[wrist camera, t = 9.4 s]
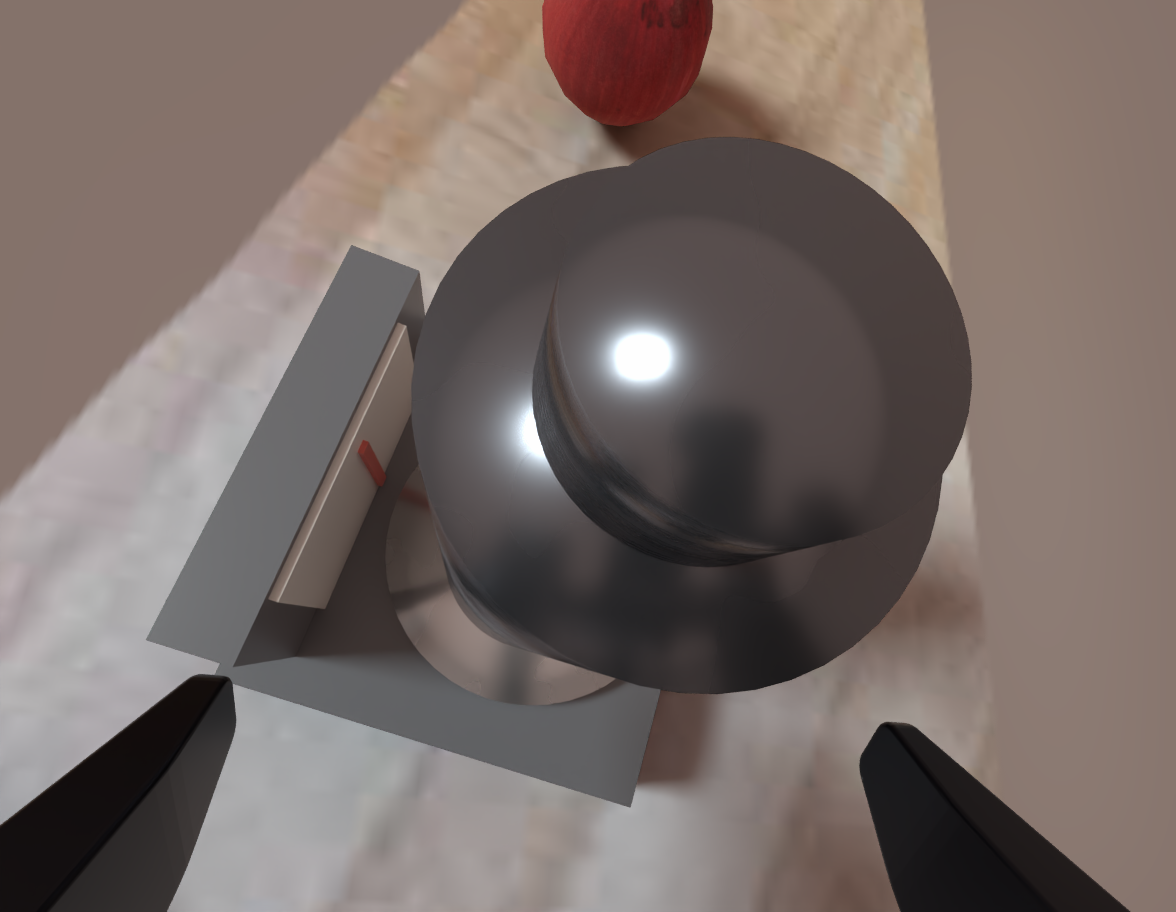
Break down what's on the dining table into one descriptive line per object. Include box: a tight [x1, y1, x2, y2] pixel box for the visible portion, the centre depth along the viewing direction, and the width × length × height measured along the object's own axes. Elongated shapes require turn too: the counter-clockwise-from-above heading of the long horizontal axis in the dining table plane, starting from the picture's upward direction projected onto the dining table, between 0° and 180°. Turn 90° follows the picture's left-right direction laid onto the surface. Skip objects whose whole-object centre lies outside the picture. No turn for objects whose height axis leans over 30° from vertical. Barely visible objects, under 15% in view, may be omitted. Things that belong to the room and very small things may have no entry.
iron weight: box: [411, 137, 972, 694], centre depth 11 cm, size 5×5×14 cm
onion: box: [542, 0, 713, 126], centre depth 22 cm, size 6×6×8 cm
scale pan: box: [385, 464, 616, 705], centre depth 17 cm, size 8×8×1 cm
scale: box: [146, 245, 661, 807], centre depth 17 cm, size 11×11×7 cm
